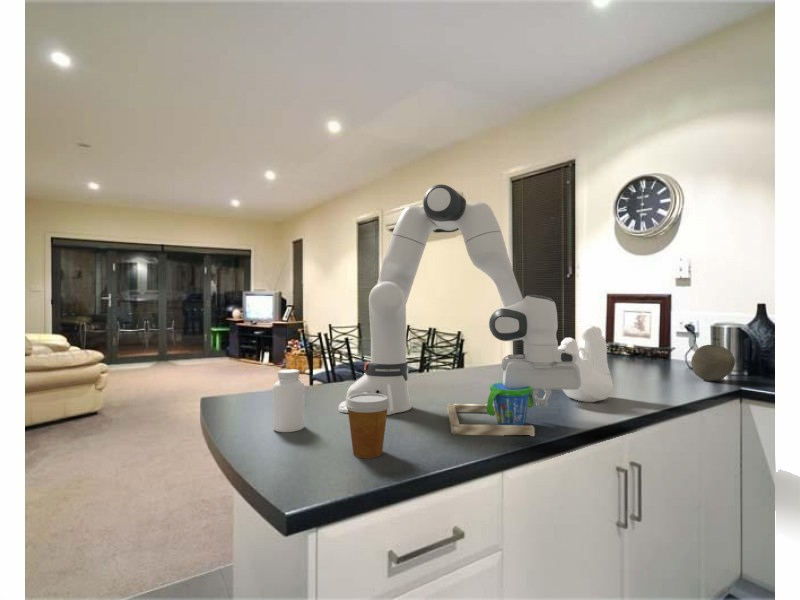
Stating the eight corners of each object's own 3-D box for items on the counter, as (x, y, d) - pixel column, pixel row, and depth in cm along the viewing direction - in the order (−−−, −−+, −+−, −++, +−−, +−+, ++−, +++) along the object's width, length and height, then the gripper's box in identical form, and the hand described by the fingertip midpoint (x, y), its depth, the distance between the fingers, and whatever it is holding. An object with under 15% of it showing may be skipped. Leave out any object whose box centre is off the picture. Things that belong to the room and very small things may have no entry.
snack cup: (501, 433, 106) (500, 392, 106) (475, 423, 115) (474, 385, 115) (547, 424, 113) (546, 386, 113) (519, 415, 122) (518, 380, 122)
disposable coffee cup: (346, 446, 96) (346, 393, 96) (388, 445, 97) (388, 392, 97) (344, 462, 87) (344, 403, 87) (391, 460, 88) (391, 402, 88)
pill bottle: (276, 434, 105) (276, 374, 105) (270, 426, 112) (270, 369, 112) (308, 430, 109) (308, 371, 109) (300, 422, 116) (300, 367, 116)
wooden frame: (452, 434, 105) (452, 426, 105) (447, 410, 129) (447, 403, 129) (534, 436, 103) (534, 427, 103) (514, 411, 127) (514, 404, 127)
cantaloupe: (702, 383, 170) (702, 346, 170) (685, 377, 184) (685, 343, 184) (742, 384, 168) (742, 346, 168) (721, 378, 181) (721, 343, 182)
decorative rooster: (589, 392, 153) (588, 324, 154) (625, 402, 139) (624, 326, 139) (530, 397, 145) (530, 325, 146) (562, 408, 130) (562, 327, 131)
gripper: (504, 355, 113) (504, 408, 113) (582, 355, 112) (583, 408, 112) (499, 353, 119) (500, 402, 119) (574, 353, 118) (575, 403, 118)
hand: (541, 405), depth 115 cm, fingers closed
